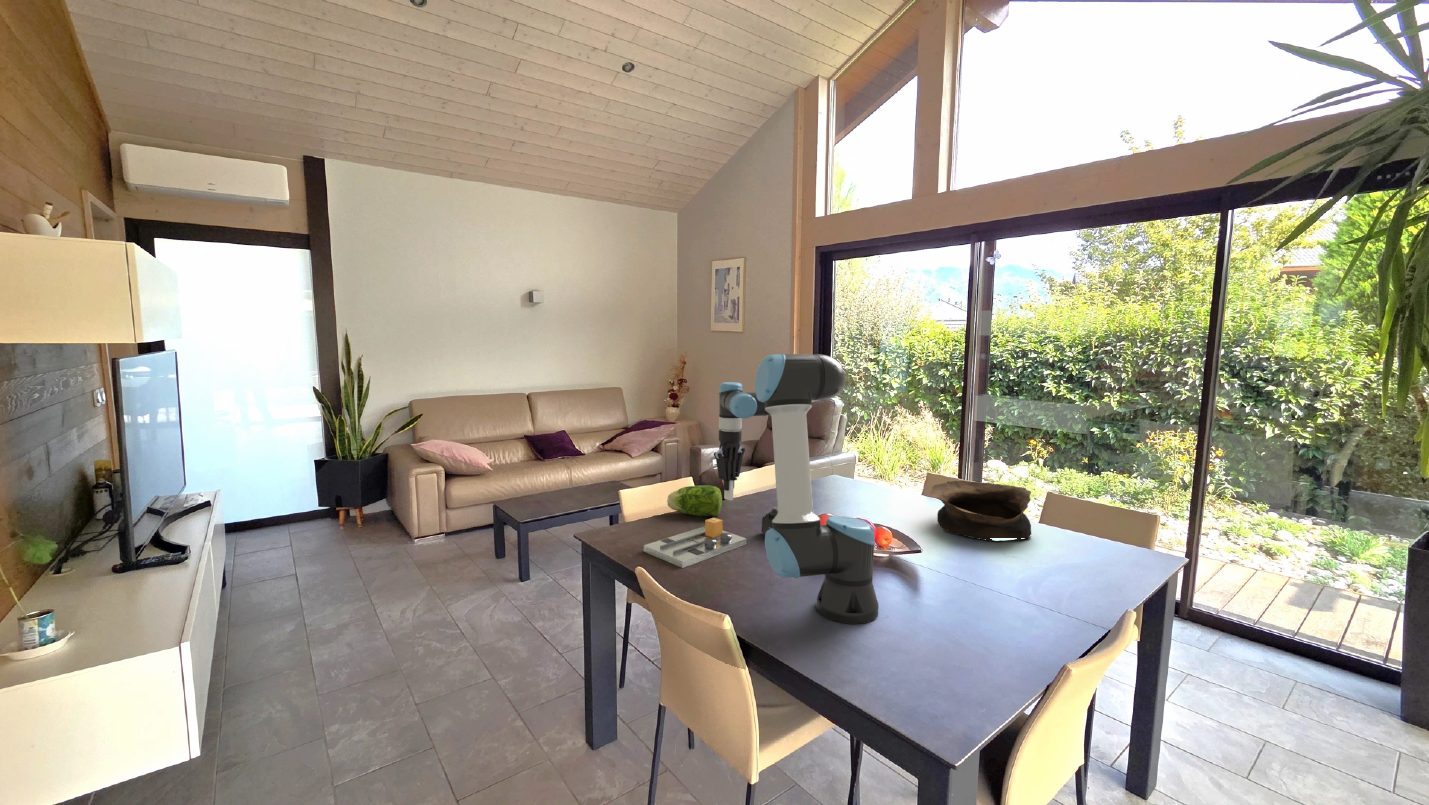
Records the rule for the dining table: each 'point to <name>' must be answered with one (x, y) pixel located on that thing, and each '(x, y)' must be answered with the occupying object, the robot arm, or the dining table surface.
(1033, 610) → the dining table surface
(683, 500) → the lettuce
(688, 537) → the console
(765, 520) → the camera
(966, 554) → the dining table surface
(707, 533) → the fader
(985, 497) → the bowl
